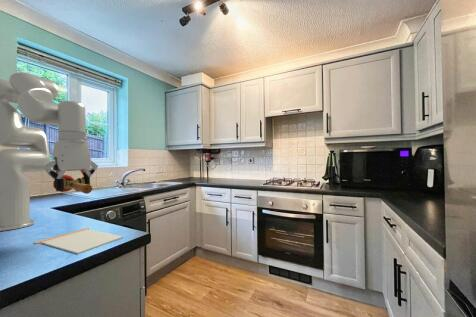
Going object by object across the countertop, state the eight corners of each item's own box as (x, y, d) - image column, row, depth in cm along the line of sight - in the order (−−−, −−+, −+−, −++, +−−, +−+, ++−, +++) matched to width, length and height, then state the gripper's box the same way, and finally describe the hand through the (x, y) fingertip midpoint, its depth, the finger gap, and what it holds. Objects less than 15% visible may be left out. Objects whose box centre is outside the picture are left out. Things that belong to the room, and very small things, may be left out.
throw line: (33, 243, 69) (33, 242, 69) (86, 228, 83) (86, 228, 83) (36, 244, 68) (36, 243, 68) (89, 229, 83) (89, 228, 83)
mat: (41, 243, 69) (41, 242, 69) (87, 230, 81) (87, 229, 81) (78, 254, 60) (78, 252, 60) (123, 237, 73) (123, 236, 73)
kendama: (101, 195, 73) (74, 186, 81) (99, 177, 72) (71, 170, 80) (76, 203, 66) (48, 193, 75) (73, 184, 65) (45, 175, 73)
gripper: (91, 140, 83) (92, 186, 83) (34, 136, 67) (35, 192, 67) (104, 139, 80) (105, 186, 80) (47, 134, 64) (48, 193, 64)
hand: (73, 189), depth 73 cm, fingers closed on kendama, 7 cm apart
